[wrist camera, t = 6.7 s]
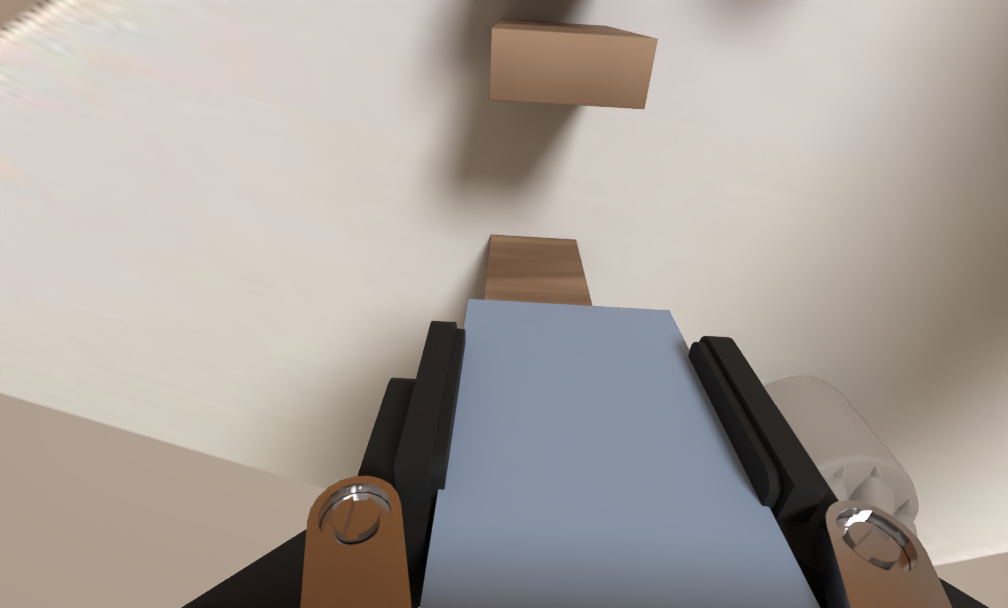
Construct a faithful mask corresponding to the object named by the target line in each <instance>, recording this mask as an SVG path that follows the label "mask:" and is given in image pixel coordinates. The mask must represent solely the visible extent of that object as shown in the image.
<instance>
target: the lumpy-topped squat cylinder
mask: <svg viewBox="0 0 1008 608" xmlns="http://www.w3.org/2000/svg"><path fill="white" fill-rule="evenodd" d="M764 388H765V389H766V391H767V392H768V394H769V395H770V397H771V399H772V400H773V402H774V403H775V404H776V406H777V407H778V409H779V410H780V412H781V413H782V415H783V416H784V418H785V419H786V421H787V422H788V424H789V425H790V427H791V429H792V430H793V432H794V433H795V435H796V436H797V438H798V439H799V441H800V442H801V444H802V445H803V447H804V448H805V450H806V451H807V453H808V454H809V456H810V458H811V459H812V461H813V462H814V464H815V465H816V467H817V468H818V470H819V471H820V473H821V474H822V476H823V477H824V479H825V480H826V482H827V484H828V485H829V487H830V488H831V490H832V491H833V493H834V494H835V496H836V497H837V499H838V500H839V501H845V500H851V501H858V502H863V503H866V504H869V505H872V506H874V507H877V508H879V509H881V510H883V511H884V512H886V513H888V514H890V515H892V516H893V517H895V518H896V519H897V520H898V521H900V522H901V523H902V524H904V525H905V526H906V527H907V528H908V529H909V530H910V531H911V532H912V533H913V534H914V535H915V536H916V537H917V531H916V527H915V525H914V519H915V517H916V515H917V512H918V499H917V495H916V491H915V488H914V486H913V483H912V481H911V479H910V477H909V475H908V474H907V472H906V471H905V470H904V469H903V467H902V466H901V465H900V464H899V462H898V461H897V460H896V459H895V457H894V456H893V455H892V454H891V453H890V451H889V450H888V449H887V448H886V447H885V445H884V444H883V443H882V442H881V441H880V439H879V438H878V437H877V436H876V435H875V433H874V432H873V431H872V430H871V429H870V427H869V426H868V425H867V424H866V423H865V421H864V420H863V419H862V418H861V417H860V415H859V414H858V413H857V412H856V411H855V409H854V408H853V407H852V406H851V405H850V403H849V402H848V401H847V400H846V399H845V397H844V396H843V395H842V394H841V393H840V392H839V391H838V390H837V389H836V388H835V387H833V386H832V385H831V384H829V383H827V382H825V381H823V380H821V379H819V378H815V377H810V376H796V377H789V378H785V379H781V380H778V381H776V382H773V383H771V384H769V385H766V386H764Z"/></svg>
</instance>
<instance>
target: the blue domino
mask: <svg viewBox="0 0 1008 608" xmlns="http://www.w3.org/2000/svg"><path fill="white" fill-rule="evenodd" d="M464 329H465V330H466V343H465V350H464V357H463V364H462V371H461V378H460V385H459V392H458V399H457V406H456V413H455V420H454V427H453V434H452V441H451V448H450V455H449V462H448V469H447V477H446V484H445V490H440V489H438V495H437V502H436V508H435V514H434V521H433V527H432V534H431V540H430V546H429V553H428V559H427V566H426V572H425V578H424V585H423V591H422V598H421V604H420V608H820V606H819V604H818V602H817V600H816V598H815V597H814V595H813V593H812V591H811V589H810V587H809V585H808V583H807V581H806V579H805V577H804V575H803V573H802V571H801V569H800V567H799V565H798V563H797V561H796V559H795V557H794V555H793V553H792V551H791V549H790V547H789V545H788V543H787V541H786V539H785V537H784V535H783V533H782V532H781V530H780V528H779V526H778V524H777V522H776V520H775V518H774V516H773V514H772V512H771V510H770V508H769V507H766V506H762V504H761V502H760V500H759V498H758V496H757V494H756V492H755V490H754V488H753V486H752V484H751V482H750V480H749V478H748V476H747V474H746V472H745V470H744V468H743V466H742V464H741V462H740V460H739V458H738V456H737V454H736V452H735V450H734V448H733V446H732V444H731V442H730V440H729V438H728V436H727V434H726V432H725V430H724V428H723V426H722V424H721V422H720V420H719V417H718V415H717V413H716V411H715V409H714V407H713V405H712V403H711V401H710V399H709V397H708V395H707V393H706V391H705V389H704V387H703V385H702V383H701V381H700V379H699V377H698V375H697V373H696V371H695V369H694V367H693V365H692V363H691V361H690V359H689V357H688V354H689V351H690V350H689V348H688V346H687V344H686V342H685V340H684V338H683V337H682V335H681V333H680V331H679V329H678V327H677V325H676V323H675V321H674V319H673V317H672V315H671V313H670V311H669V310H652V309H635V308H618V307H601V306H584V305H567V304H549V303H532V302H515V301H498V300H481V299H468V304H467V310H466V316H465V323H464Z"/></svg>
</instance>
